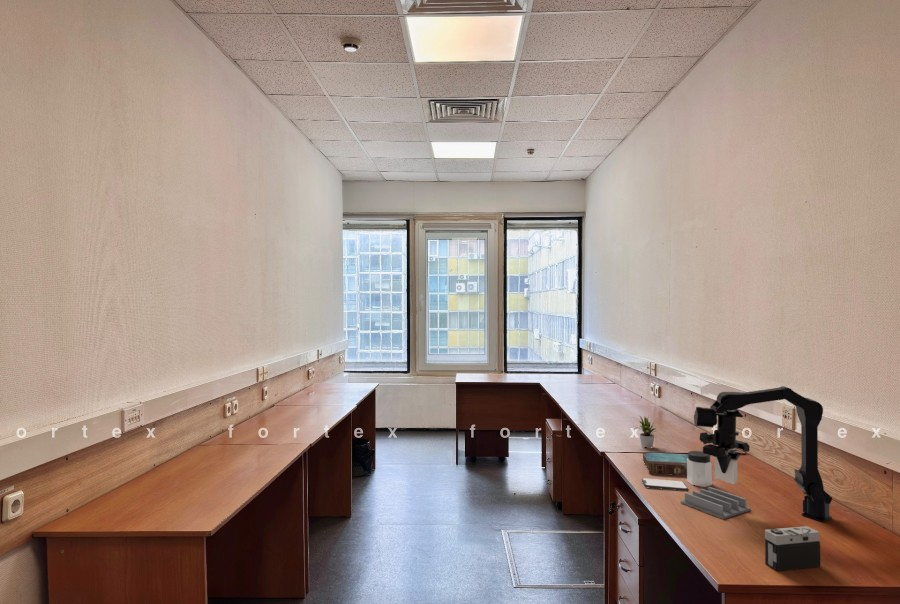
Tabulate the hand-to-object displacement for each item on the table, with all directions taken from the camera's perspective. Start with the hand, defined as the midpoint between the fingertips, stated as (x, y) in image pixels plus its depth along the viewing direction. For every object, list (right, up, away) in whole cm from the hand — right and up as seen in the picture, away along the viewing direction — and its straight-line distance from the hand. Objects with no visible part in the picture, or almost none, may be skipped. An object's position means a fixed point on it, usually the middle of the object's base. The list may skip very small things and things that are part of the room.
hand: (725, 472), depth 177 cm
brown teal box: (0, -14, +43) cm, 46 cm away
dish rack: (-3, -13, +1) cm, 13 cm away
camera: (-4, -13, -37) cm, 40 cm away
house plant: (+2, -14, +80) cm, 81 cm away
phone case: (-12, -14, +23) cm, 29 cm away
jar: (+3, -13, +25) cm, 29 cm away
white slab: (0, -3, 0) cm, 3 cm away
